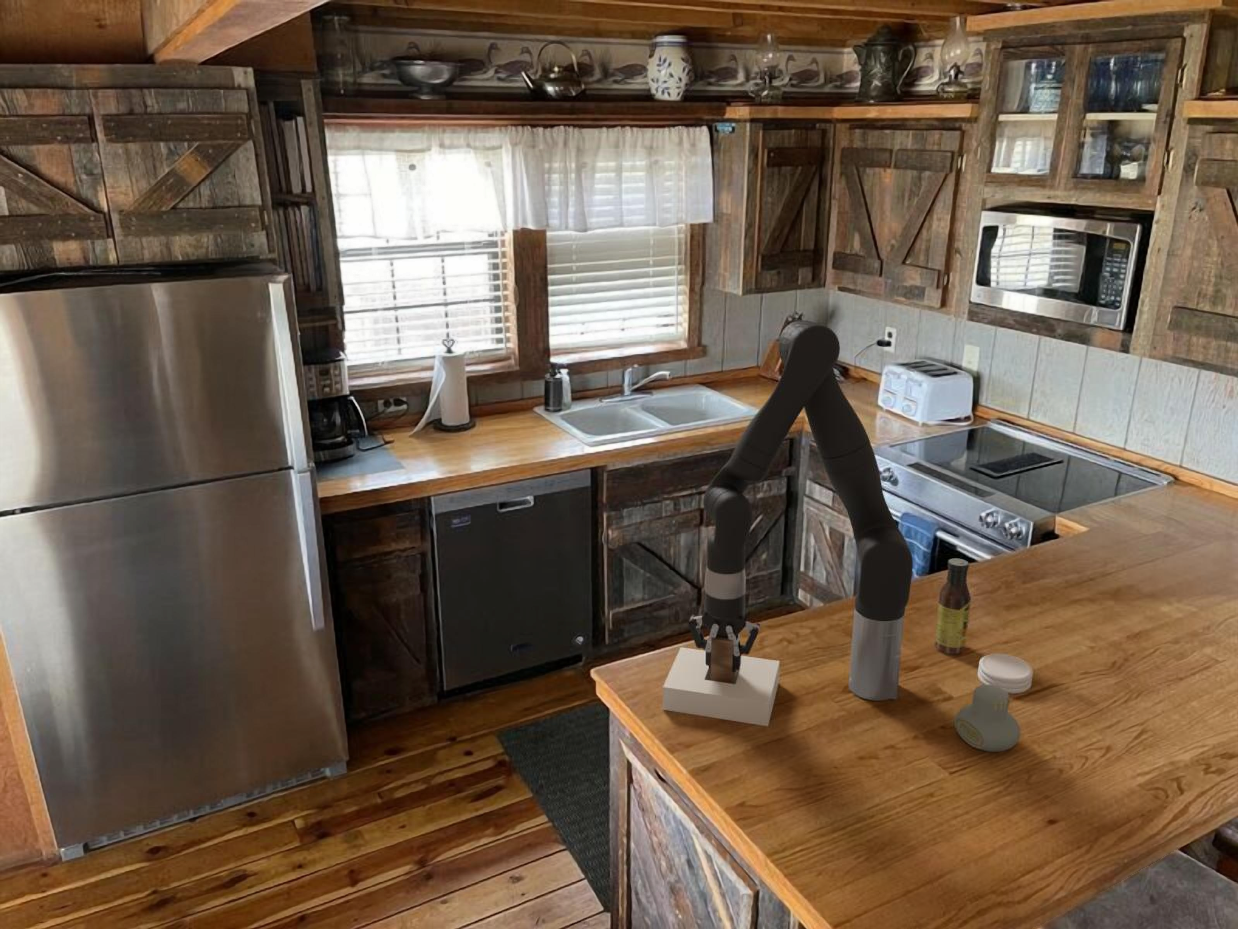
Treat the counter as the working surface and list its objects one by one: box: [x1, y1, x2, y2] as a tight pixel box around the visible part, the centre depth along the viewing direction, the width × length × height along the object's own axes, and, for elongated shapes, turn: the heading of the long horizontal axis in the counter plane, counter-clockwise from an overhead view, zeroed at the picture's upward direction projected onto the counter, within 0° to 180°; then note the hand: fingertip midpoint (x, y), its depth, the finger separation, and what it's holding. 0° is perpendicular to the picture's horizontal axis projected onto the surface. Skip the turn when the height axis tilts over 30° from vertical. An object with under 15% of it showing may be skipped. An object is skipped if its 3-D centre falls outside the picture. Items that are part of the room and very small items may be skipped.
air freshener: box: [954, 684, 1021, 753], centre depth 165 cm, size 11×8×10 cm
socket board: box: [662, 646, 781, 727], centre depth 180 cm, size 20×15×5 cm
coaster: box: [977, 653, 1034, 695], centre depth 185 cm, size 10×10×4 cm
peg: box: [711, 637, 735, 684], centre depth 178 cm, size 4×4×10 cm
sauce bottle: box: [934, 557, 972, 655], centre depth 194 cm, size 6×6×20 cm
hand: (722, 668), depth 179 cm, fingers closed on peg, 4 cm apart
